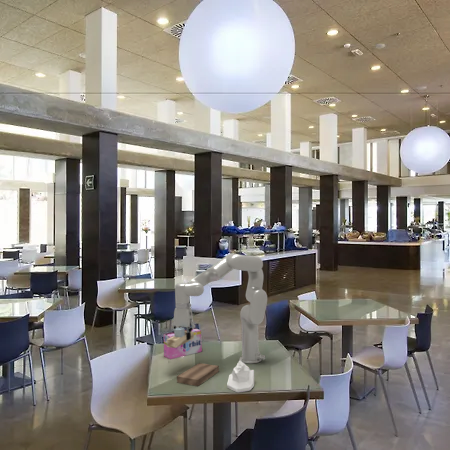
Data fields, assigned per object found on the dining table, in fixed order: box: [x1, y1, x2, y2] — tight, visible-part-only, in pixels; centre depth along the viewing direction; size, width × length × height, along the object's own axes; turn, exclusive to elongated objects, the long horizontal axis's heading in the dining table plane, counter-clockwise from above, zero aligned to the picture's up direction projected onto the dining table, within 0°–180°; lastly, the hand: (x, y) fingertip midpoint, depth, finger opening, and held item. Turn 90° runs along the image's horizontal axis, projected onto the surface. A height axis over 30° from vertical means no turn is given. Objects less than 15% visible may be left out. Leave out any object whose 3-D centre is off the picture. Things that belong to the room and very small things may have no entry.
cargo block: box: [173, 327, 186, 337], centre depth 223 cm, size 4×4×4 cm
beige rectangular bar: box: [167, 331, 194, 348], centre depth 225 cm, size 6×18×4 cm, turn 153°
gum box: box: [163, 327, 203, 360], centre depth 254 cm, size 24×8×14 cm, turn 127°
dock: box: [176, 362, 220, 387], centre depth 215 cm, size 12×22×3 cm, turn 153°
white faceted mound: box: [226, 359, 255, 393], centre depth 199 cm, size 12×15×14 cm
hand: (183, 338), depth 228 cm, fingers closed on beige rectangular bar, 5 cm apart
